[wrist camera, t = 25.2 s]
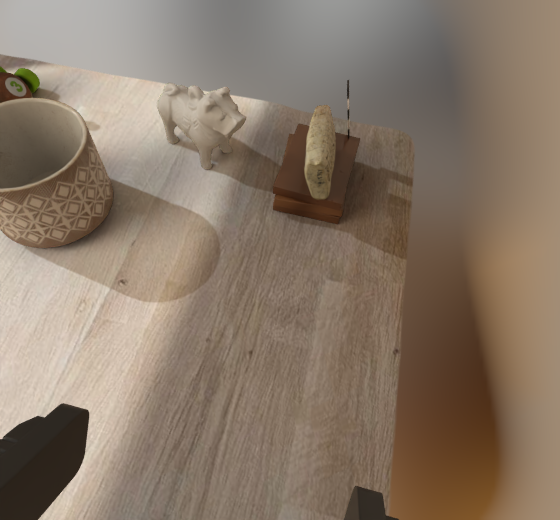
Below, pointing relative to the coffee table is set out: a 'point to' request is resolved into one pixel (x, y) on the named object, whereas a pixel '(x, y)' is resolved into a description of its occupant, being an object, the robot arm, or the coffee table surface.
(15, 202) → the planter
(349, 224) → the coffee table surface
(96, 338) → the coffee table surface
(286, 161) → the slab pile
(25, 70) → the bunny pull toy
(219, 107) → the dog figurine
